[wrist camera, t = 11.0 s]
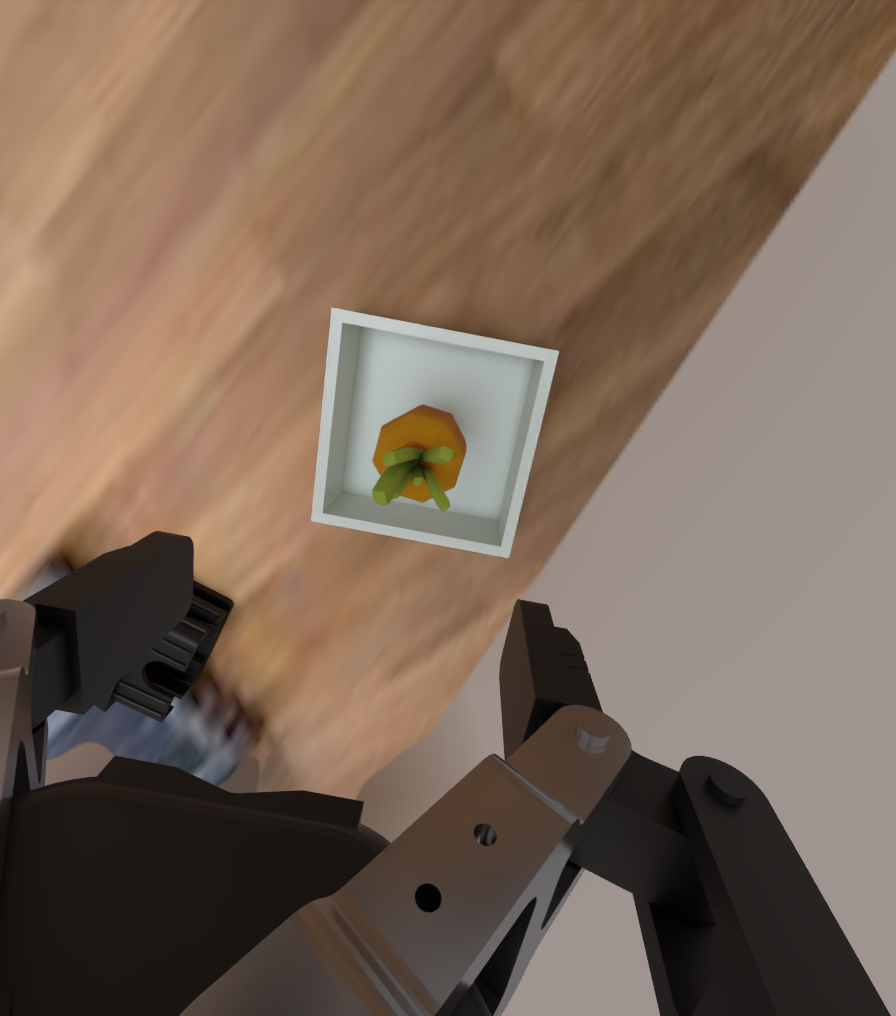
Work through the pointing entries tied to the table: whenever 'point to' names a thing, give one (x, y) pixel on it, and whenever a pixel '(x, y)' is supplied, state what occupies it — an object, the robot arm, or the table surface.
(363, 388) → the bin
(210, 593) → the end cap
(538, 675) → the robot arm
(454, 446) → the carrot
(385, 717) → the table surface
